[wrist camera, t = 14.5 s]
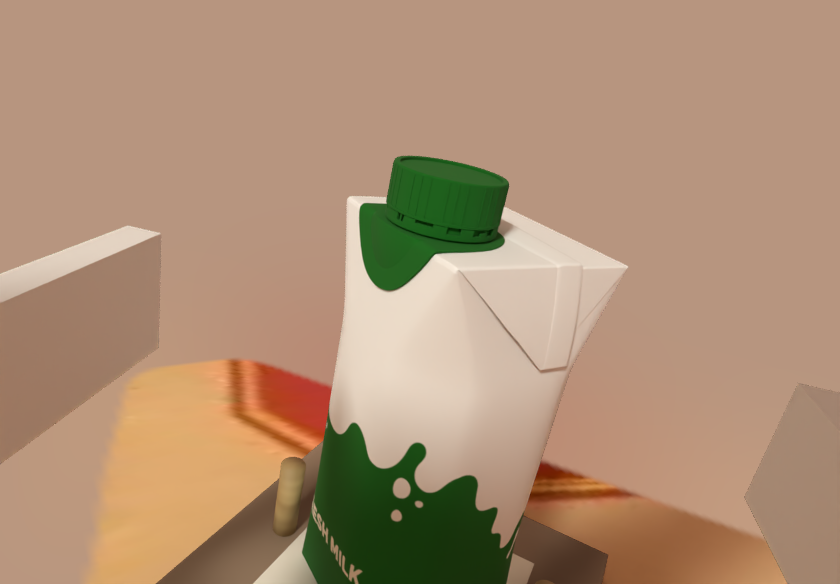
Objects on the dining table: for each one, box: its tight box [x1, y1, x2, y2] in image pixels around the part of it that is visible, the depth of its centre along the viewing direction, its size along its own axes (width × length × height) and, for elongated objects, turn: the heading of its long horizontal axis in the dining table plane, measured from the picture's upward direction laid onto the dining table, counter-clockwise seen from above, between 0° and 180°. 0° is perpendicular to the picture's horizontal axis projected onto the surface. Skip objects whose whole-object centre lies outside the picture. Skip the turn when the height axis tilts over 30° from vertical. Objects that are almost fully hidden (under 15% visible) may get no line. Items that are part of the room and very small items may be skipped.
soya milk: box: [302, 156, 628, 584], centre depth 25 cm, size 9×9×20 cm
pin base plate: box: [156, 441, 608, 584], centre depth 29 cm, size 18×18×6 cm
